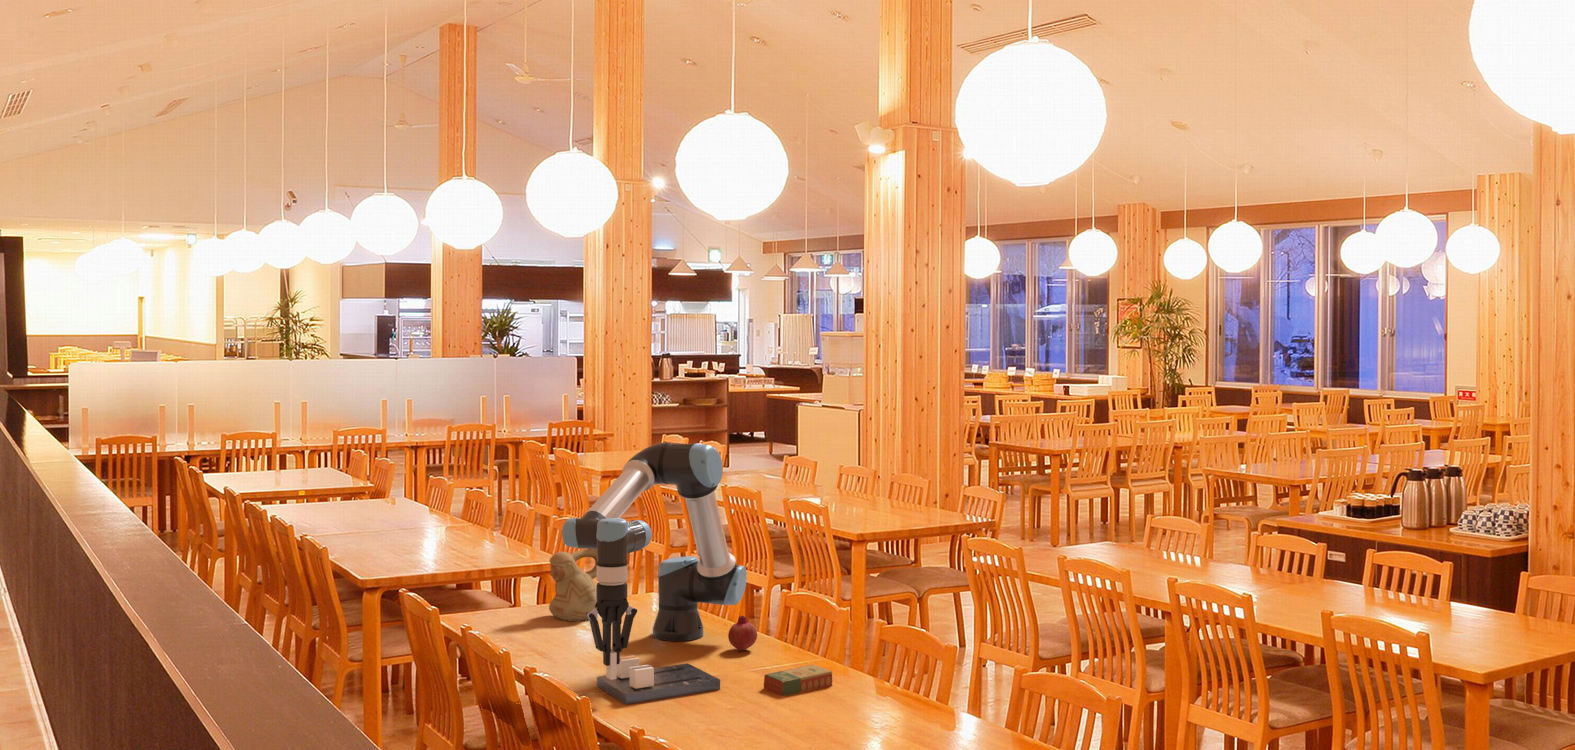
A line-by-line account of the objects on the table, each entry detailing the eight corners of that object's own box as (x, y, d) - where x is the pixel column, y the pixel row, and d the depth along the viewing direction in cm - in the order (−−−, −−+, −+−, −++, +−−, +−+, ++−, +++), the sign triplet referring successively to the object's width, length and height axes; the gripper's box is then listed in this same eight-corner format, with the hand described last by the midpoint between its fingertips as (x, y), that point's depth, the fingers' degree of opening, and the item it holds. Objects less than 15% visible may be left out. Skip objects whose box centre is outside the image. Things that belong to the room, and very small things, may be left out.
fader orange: (633, 672, 328) (633, 654, 328) (639, 675, 325) (639, 657, 325) (615, 675, 325) (615, 657, 325) (621, 678, 322) (621, 660, 322)
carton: (832, 687, 328) (833, 670, 327) (782, 697, 318) (783, 681, 318) (812, 679, 334) (813, 663, 334) (763, 689, 325) (763, 673, 324)
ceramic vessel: (536, 617, 402) (535, 538, 401) (588, 608, 415) (588, 532, 414) (565, 626, 389) (565, 545, 388) (618, 617, 403) (618, 538, 402)
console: (687, 672, 339) (688, 662, 339) (720, 689, 324) (720, 679, 323) (597, 686, 325) (597, 676, 325) (626, 704, 310) (626, 693, 310)
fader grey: (647, 682, 319) (647, 663, 319) (653, 685, 316) (653, 667, 316) (629, 685, 317) (629, 666, 316) (635, 688, 314) (635, 669, 313)
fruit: (734, 655, 357) (734, 619, 357) (724, 648, 364) (724, 613, 364) (761, 652, 360) (761, 617, 360) (750, 645, 368) (750, 611, 367)
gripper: (630, 577, 318) (629, 671, 318) (581, 582, 311) (580, 677, 312) (642, 582, 311) (642, 678, 312) (593, 587, 305) (592, 685, 305)
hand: (611, 677), depth 312 cm, fingers closed
